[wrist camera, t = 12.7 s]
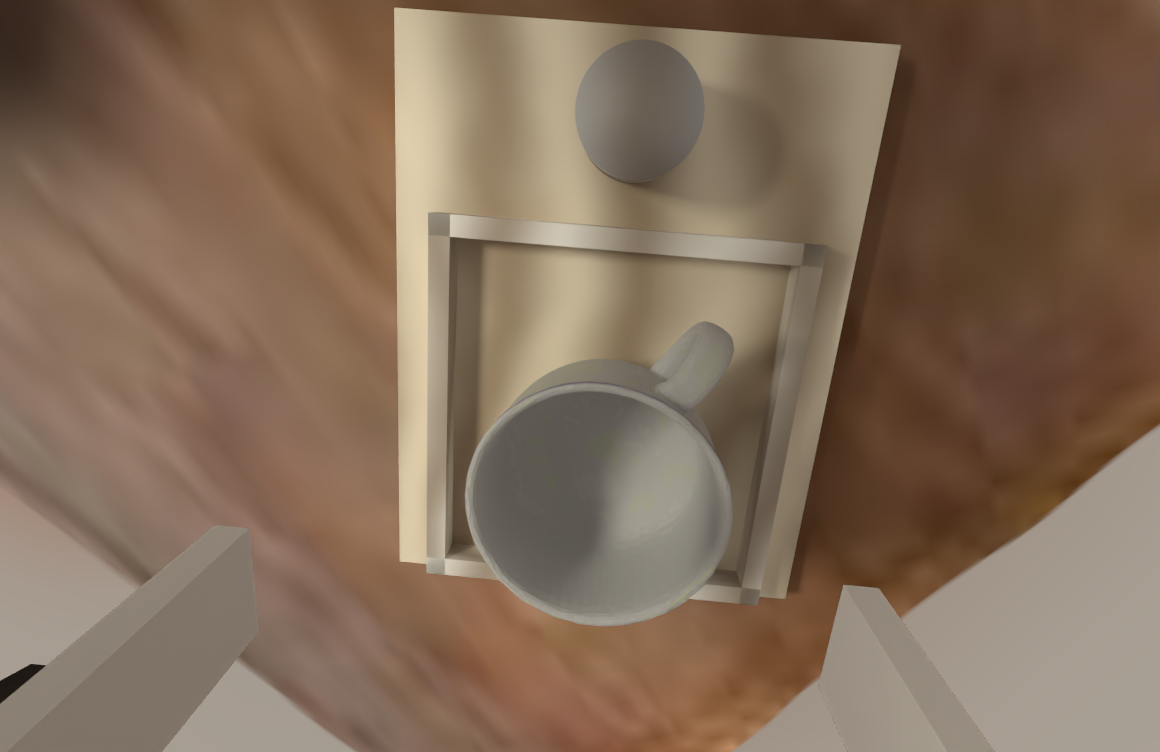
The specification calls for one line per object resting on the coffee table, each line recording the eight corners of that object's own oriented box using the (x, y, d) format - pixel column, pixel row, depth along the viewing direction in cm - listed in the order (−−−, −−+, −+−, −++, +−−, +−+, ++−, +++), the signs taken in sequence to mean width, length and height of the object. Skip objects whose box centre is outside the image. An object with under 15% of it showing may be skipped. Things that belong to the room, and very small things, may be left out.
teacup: (599, 564, 33) (596, 673, 25) (456, 436, 31) (406, 511, 23) (794, 400, 30) (858, 469, 22) (646, 247, 28) (660, 262, 20)
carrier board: (406, 549, 35) (372, 607, 30) (403, 16, 27) (356, -28, 22) (779, 585, 34) (808, 650, 29) (888, 52, 26) (953, 15, 21)
